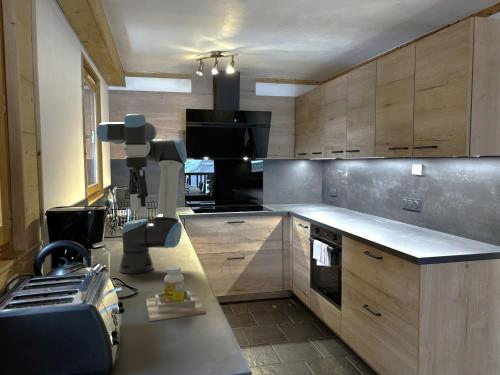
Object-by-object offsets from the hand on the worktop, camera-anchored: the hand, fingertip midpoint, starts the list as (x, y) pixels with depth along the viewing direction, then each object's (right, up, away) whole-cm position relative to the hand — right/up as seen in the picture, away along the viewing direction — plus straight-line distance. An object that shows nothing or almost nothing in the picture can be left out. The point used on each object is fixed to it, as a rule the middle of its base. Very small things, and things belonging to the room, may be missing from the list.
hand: (138, 213), depth 143 cm
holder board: (+16, -32, -12) cm, 38 cm away
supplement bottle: (+16, -31, -12) cm, 37 cm away
